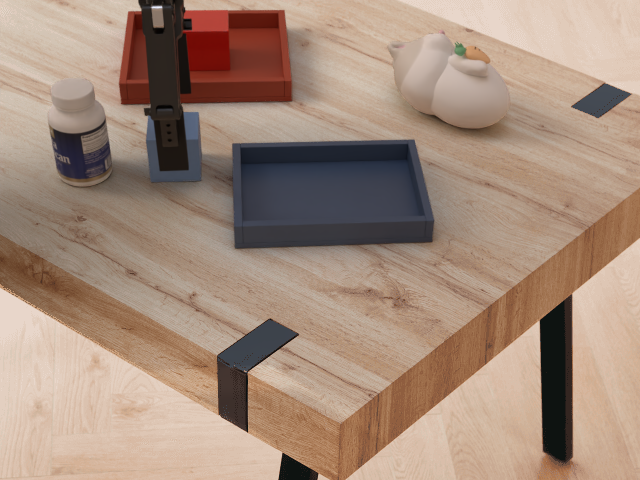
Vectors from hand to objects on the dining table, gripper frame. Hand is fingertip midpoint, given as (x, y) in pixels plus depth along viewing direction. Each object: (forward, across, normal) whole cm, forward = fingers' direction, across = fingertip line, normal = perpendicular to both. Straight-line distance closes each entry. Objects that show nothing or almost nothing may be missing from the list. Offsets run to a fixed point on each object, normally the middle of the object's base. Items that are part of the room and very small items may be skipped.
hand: (176, 129), depth 106 cm
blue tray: (+5, -6, -15) cm, 17 cm away
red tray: (+5, +20, -3) cm, 21 cm away
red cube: (+4, +20, -3) cm, 21 cm away
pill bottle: (+5, 0, +9) cm, 10 cm away
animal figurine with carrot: (+5, +10, -29) cm, 31 cm away
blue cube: (+5, 0, 0) cm, 5 cm away
